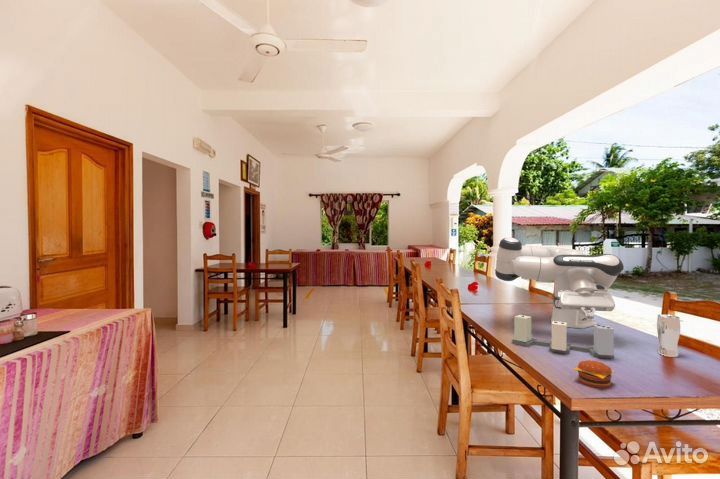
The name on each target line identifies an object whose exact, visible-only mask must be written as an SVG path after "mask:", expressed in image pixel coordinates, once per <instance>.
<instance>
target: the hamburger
mask: <svg viewBox="0 0 720 479" xmlns="http://www.w3.org/2000/svg"><path fill="white" fill-rule="evenodd" d="M573 371H577V373H578V375H577V380H578V381H579V382H580V383H581V384H583V385H586V386H589V387H592V388H596V389H597V388H598V389H606V388H607V389H608V388H611V386H612V374H616V372H615V371H614V370H612V368H611V367H610V366H609V365H607V364H605V363H603V362H602V361H598V360H590V359H589V360H581V361H579V363H578V364H577V366H576V367H575V368H574V369H573Z"/></svg>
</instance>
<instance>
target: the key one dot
mask: <svg viewBox="0 0 720 479" xmlns="http://www.w3.org/2000/svg"><path fill="white" fill-rule="evenodd" d="M513 318H514V320H513V321H514V323H513V324H514V325H513V326H514V327H513V328H514V329H513V330H514V333H513V334H514V336H513V339H514V340H518V341H523V342H528V341H530V340H531V338H532V316H529V315H523V314H518V315H515V316H514V317H513Z"/></svg>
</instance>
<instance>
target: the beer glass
mask: <svg viewBox="0 0 720 479" xmlns="http://www.w3.org/2000/svg"><path fill="white" fill-rule="evenodd" d="M680 319H681V318H680V316H677V315H672V314H665V313H664V314H662V313H661V314H657V319H656V331H657V336H658V345H659V346H658V349H657V350H658V351H657V353H658V355H660V354H661V355H660V356H663V355H664V356H663V357H670V358H678V357H679V351H678V343H679V341H680V340H679V339H680V334H681V320H680Z"/></svg>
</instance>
